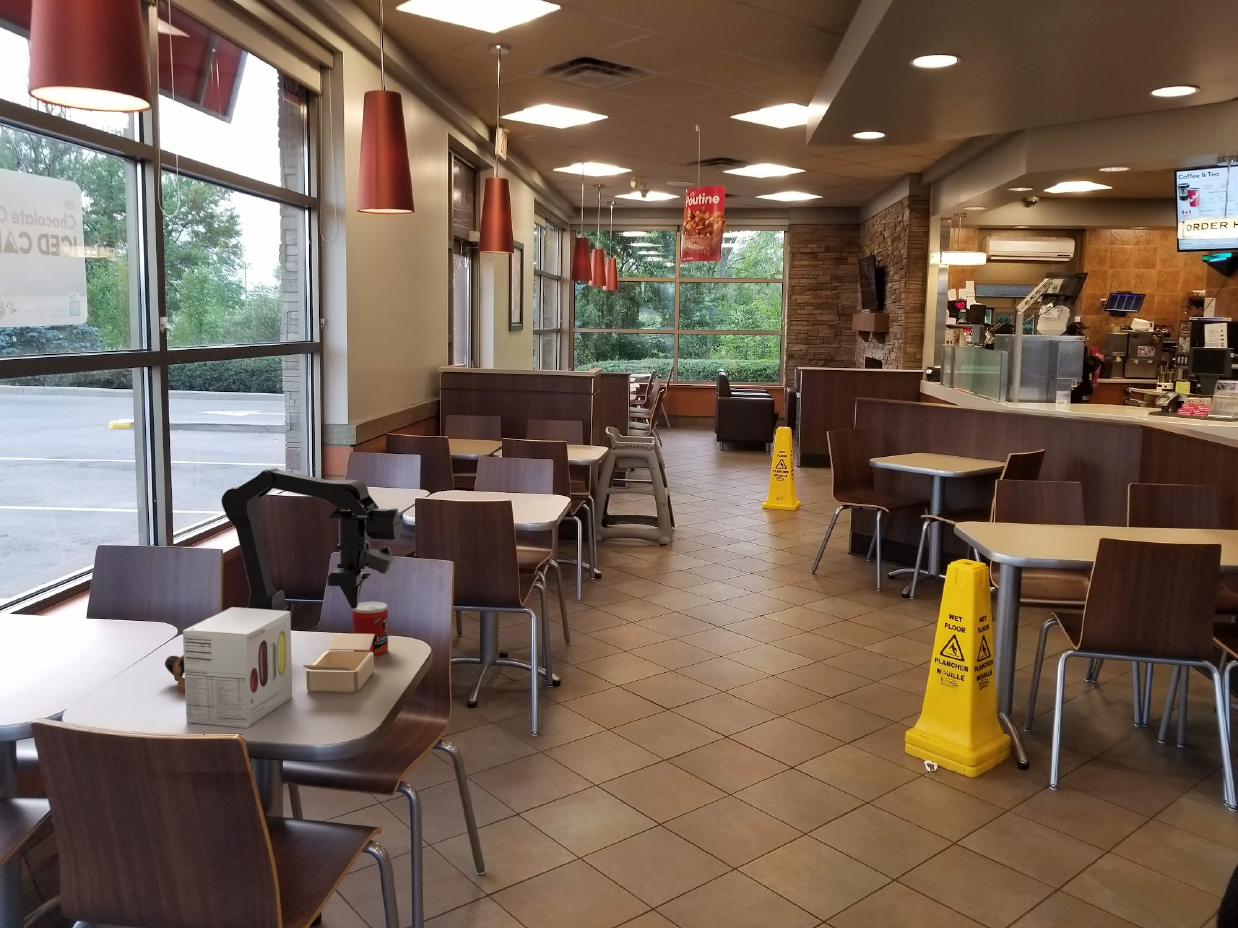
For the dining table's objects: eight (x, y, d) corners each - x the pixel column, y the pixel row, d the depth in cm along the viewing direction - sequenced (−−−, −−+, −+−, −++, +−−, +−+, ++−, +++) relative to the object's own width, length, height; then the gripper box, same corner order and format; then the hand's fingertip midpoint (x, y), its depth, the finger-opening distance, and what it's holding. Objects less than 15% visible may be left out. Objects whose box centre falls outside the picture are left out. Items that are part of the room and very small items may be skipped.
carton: (305, 692, 202) (305, 670, 201) (325, 670, 215) (325, 650, 214) (358, 693, 202) (357, 671, 201) (374, 671, 215) (374, 651, 214)
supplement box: (250, 729, 183) (246, 634, 180) (184, 723, 185) (180, 630, 182) (295, 696, 200) (292, 609, 197) (234, 691, 202) (231, 605, 199)
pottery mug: (229, 680, 210) (227, 654, 205) (203, 713, 202) (200, 687, 197) (178, 662, 211) (175, 636, 206) (150, 695, 203) (145, 668, 198)
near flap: (310, 668, 201) (310, 669, 201) (303, 664, 196) (303, 666, 196) (352, 669, 201) (352, 670, 201) (346, 665, 196) (346, 667, 196)
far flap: (335, 633, 218) (335, 634, 218) (329, 648, 214) (329, 649, 214) (374, 633, 218) (374, 634, 218) (369, 649, 214) (369, 650, 214)
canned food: (379, 658, 223) (378, 611, 222) (347, 655, 225) (346, 608, 224) (394, 648, 231) (393, 602, 229) (362, 645, 232) (361, 600, 231)
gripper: (378, 548, 206) (380, 620, 208) (399, 530, 225) (400, 597, 227) (325, 547, 206) (327, 619, 208) (350, 530, 225) (352, 596, 227)
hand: (354, 608), depth 217 cm, fingers closed
